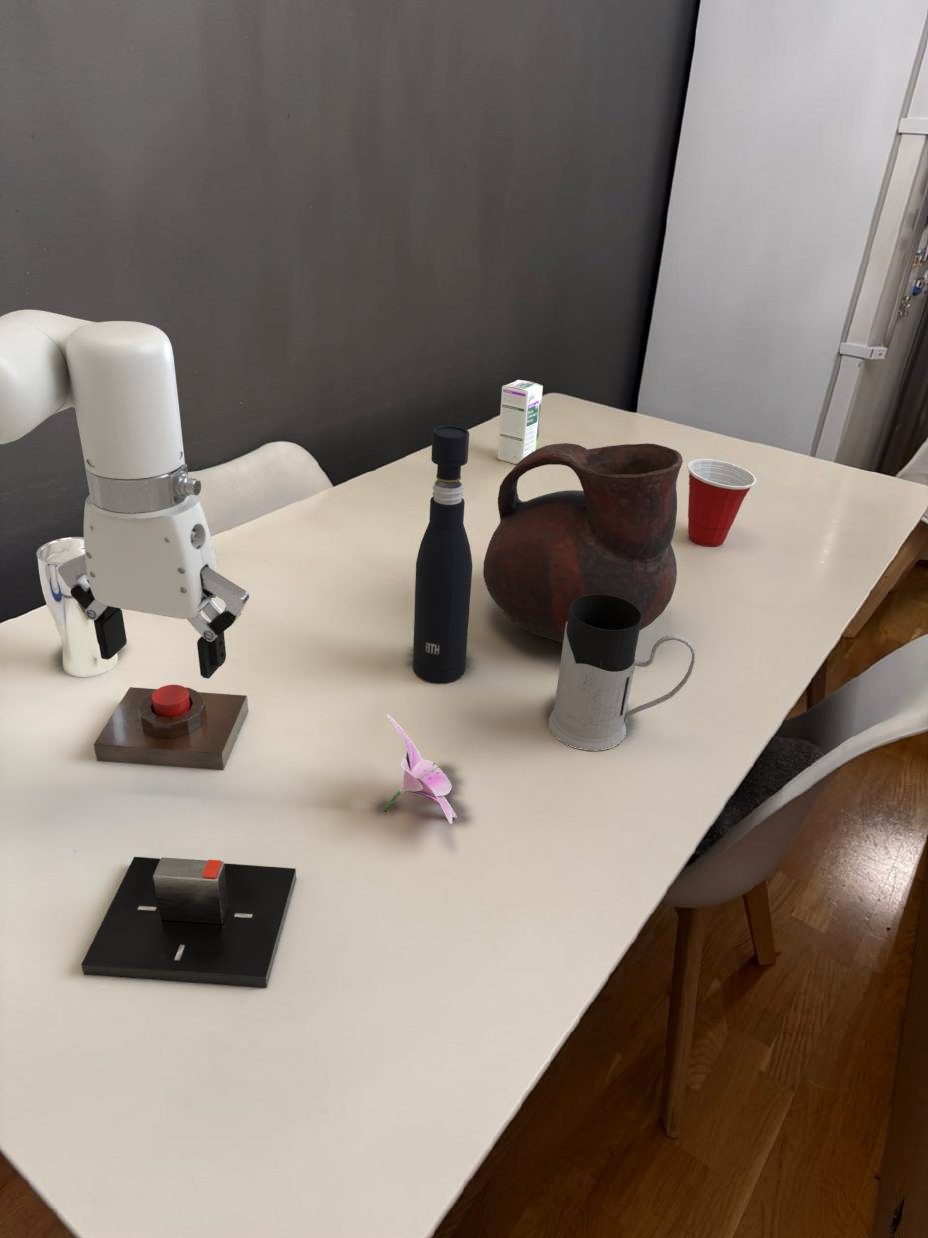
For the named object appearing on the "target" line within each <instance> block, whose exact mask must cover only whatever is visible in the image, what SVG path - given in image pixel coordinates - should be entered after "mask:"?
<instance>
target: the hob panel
mask: <svg viewBox="0 0 928 1238" xmlns="http://www.w3.org/2000/svg"><path fill="white" fill-rule="evenodd" d="M160 859H161V858H159V857H158V858H157V857H145V856H133V858H132V860H131V862H130V864H129V867H128V868H127V870H126V872H125V874H124V876H123V879H122V880H121V883H120V884H119V887H118V889H117V890H116V893H115V895H114V897H113V898H112V901H111V903H110V904H109V906H108V909H107V911H106V913H105V915H104V917H103V919H102V921H101V923H100V925H99V928H98V929H97V932H96V933H95V934H94V935H95V936H94V937H93V940H92V941H91V943H90V946H89V948H88V950H87V952H86V953H85V955H84V957H83V960H82V962H81V964H80V965H81V969H82V974H83V975H84V976H97V977H111V978H124V979H139V980H152V981H163V982H164V981H165V982H177V983H189V984H190V983H191V984H203V985H216V986H217V985H218V986H231V987H243V988H258V989H267V988H268V984H269V982H270V981H269V980H270V977H271V975H272V974H271V973H272V971H273V966H274V963H275V959H276V954H277V951H278V948H279V945H280V940H281V936H282V932H283V929H284V926H285V921H286V918H287V914H288V911H289V907H290V903H291V900H292V896H293V892H294V889H295V885H296V881H297V869H296V868H295V867H282V866H281V867H280V866H267V865H255V864H254V865H252V864H238V863H227V862H224V866H225V874H226V883H227V891H228V900H229V907H228V910H227V913H226V916H225V919H224V922H223V924H211V923H196V922H180V921H165V920H161V919H160V913H159V908H158V902H157V896H156V891H155V885H154V879H153V875H154V873H155V871H156V868H157V866H158V864H159V862H160Z"/></svg>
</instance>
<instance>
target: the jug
mask: <svg viewBox="0 0 928 1238" xmlns="http://www.w3.org/2000/svg"><path fill="white" fill-rule="evenodd" d="M683 462H684V460H683V456H682V454H681V452H679V451H678V450H676V449H674V448H670V447H668V446H665V445H661V444H657V443H645V442H644V443H632V444H631V443H626V444H625V443H624V444H617V445H616V444H615V445H607V446H601V447H594V448H586V447H584V446H583V445H579V444H576V443H568V442H562V443H552V444H548V445H544V446H542V447H540V448H539V447H538V448H537V450H535V451H533V452H532V453H530V454H529V455H527V456H526V457H524V458H523V459H522V460H521V461H520V462H519V463H518V464H515V466H514V468H512V469H511V471H509V472H508V474H506V476H505V477H504V479H503V480H502V481H501V484H500V485H499V488H498V489H499V490H498V495H497V508H498V514H499V523H498V525H497V527H496V528H495V530H494V531H493V533H492V535H491V538H490V540H489V542H488V545H487V549H486V552H485V555H484V561H483V567H482V569H483V570H482V575H483V579H484V583H485V586H486V589H487V592H488V594H489V595H490V597H491V599H492V600H493V601H494V603H495V604H496V605H497V607H498V608H499V609H500V610H501V611H502V612H503V613H504V614H505V615H506V616H507V618H509V619H510V620H511V622H514V623H515V624H516V625H518V626H519V627H521V628H522V629H524V630H525V631H527V632H529V633H531V634H533V635H536V636H538V637H540V638H543V639H547V640H551V641H553V642H554V641H555V642H559V643H562V644H563V641H564V634H565V627H566V622H567V621H568V617H569V610H570V605H571V603H572V602H573V601H574V600H575V599H577V598H579V597H582V596H585V595H591V594H604V595H611V596H616V597H619V598H622V599H625V600H627V601H629V602H631V603H632V604H634V605H635V606H636V607H637V608H638V609H639V610H640V612H641V614H642V620H641V626H640V631H641V630H644V629H645V628H646V627H648V626H649V625H651V624H652V623H654V622H655V621H656V619H658V618H659V617H660V616H661V614H663V612H664V611H665V610H666V608H667V607H668V605H669V604H670V602H671V600H672V598H673V595H674V592H675V588H676V584H677V576H678V569H677V568H678V567H677V559H676V555H675V550H674V548H673V545H672V541H673V537H674V534H675V530H676V525H677V516H678V515H677V514H678V492H677V482H678V477H679V474H680V471H681V468H682V465H683ZM549 465H551V466H552V465H553V466H554V465H556V466H557V465H558V466H565V467H568V468H570V469H571V470H572V471H573V472H574V473H575V475H576V476H577V478H578V480H579V483H580V486H581V488H582V490H580V489H579V490H577V489H571V490H570V489H569V490H568V489H567V490H561V491H559V490H558V491H555V492H550V493H546V494H543V495H539V496H537V497H534V498H531V499H528V500H525V501H523V500H521V499H520V498H519V494H518V483H519V479H521V477H522V476H523V475H525V474H526V473H527V472H529V471H531V470H533V469H536V468H540V467H543V466H549Z"/></svg>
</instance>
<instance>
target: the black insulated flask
mask: <svg viewBox="0 0 928 1238" xmlns="http://www.w3.org/2000/svg"><path fill="white" fill-rule="evenodd" d="M431 433H432V434H431V435H432V436H431V457H430V458H431V459H430V460H431V462H432V463H433V464H435V465H437V466H436V467H437V470H436V475H435V477H436V480H435V481H434V484H433V486H432V490H433V491H432V496H431V497H430V500H429V519H428V520H429V521H428V524H427V527H426V529H425V531H424V534H423V536H422V539H421V541H420V544H419V548H418V551H417V556H416V561H415V581H414V610H413V611H414V613H413V618H414V619H413V640H412V641H413V645H412V671H413V673H414V675H415V676H416V677H417V678H418V679H421V680H422V681H424V682H427V683H430V684H437V685H441V684H443V685H444V684H450V683H454V682H456V681H458V680H460V679H461V678H462V677H463V676H464V675H465V672H466V666H467V665H466V664H467V653H468V652H467V651H468V636H469V621H470V608H471V594H472V592H471V591H472V577H473V557H472V550H471V544H470V542H469V538H468V534H467V530H466V528H465V524H464V521H465V520H464V518H465V506H466V505H465V504H466V501H465V499H464V498H463V497H464V493H463V492H464V486H463V483H462V481H461V479H462V476H461V474H462V473H461V472H462V466H465V465H466V464H468V461H469V448H470V447H469V446H470V432H469V430H468V429H467V428H464V427H462V426H458V425H440V426H436V427H435V428H433V429H432V432H431Z"/></svg>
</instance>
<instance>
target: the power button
mask: <svg viewBox="0 0 928 1238" xmlns="http://www.w3.org/2000/svg"><path fill="white" fill-rule="evenodd" d="M185 687H186V686H183V685H180V684H167V685H163V686H161V687H159V688H158V687H157V688H156V689H157V690H156V691H155V692H154V693H153V695H152V701H153V707H154V712H155V714H156V715H157V716H159V717H174V716H179V715H182V714H184V713H185V712H187V711H188V710H189V708H190V701H189V693H188V690H187V689H186V688H185Z"/></svg>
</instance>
